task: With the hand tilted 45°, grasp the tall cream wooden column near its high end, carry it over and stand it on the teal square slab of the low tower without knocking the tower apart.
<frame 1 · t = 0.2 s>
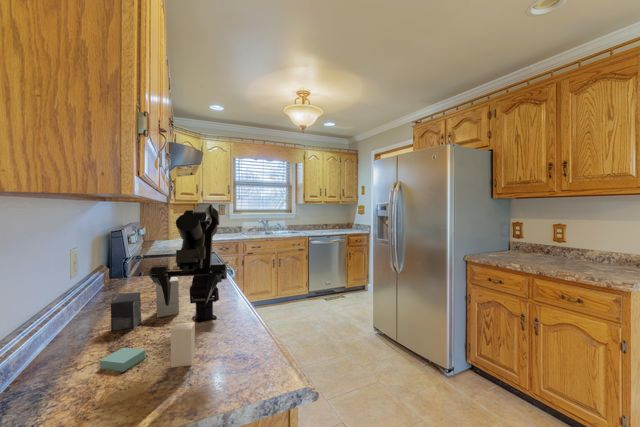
hand: (186, 304, 75), 14 cm above the countertop, tool tilted 35°, fingers open, 9 cm apart
small box: (126, 329, 95), on the countertop
cream column: (183, 367, 72), on the countertop
tower base: (123, 371, 71), on the countertop, touching teal square slab
supplement box: (167, 313, 110), on the countertop
teal square slab: (123, 363, 71), point 1 cm above the countertop, touching tower base
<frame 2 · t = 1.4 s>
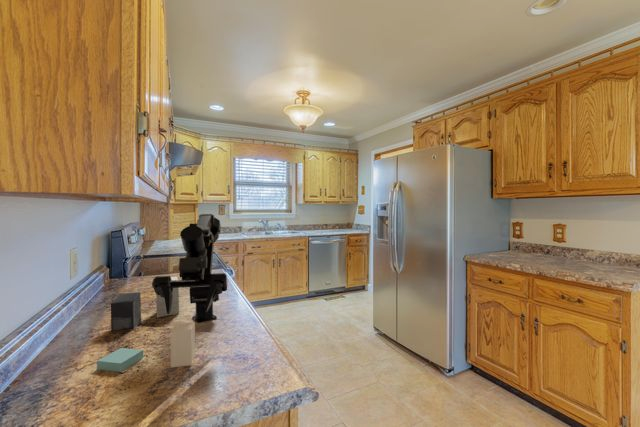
hand: (187, 312, 77), 12 cm above the countertop, tool tilted 45°, fingers open, 9 cm apart
nothing on the countertop moved.
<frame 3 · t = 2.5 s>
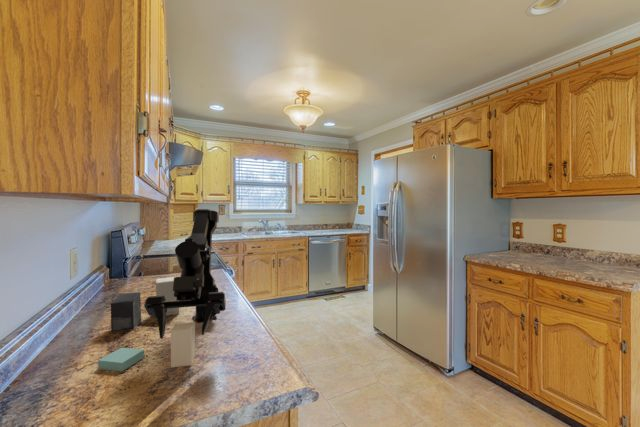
hand: (182, 336, 71), 8 cm above the countertop, tool tilted 45°, fingers open, 9 cm apart
nothing on the countertop moved.
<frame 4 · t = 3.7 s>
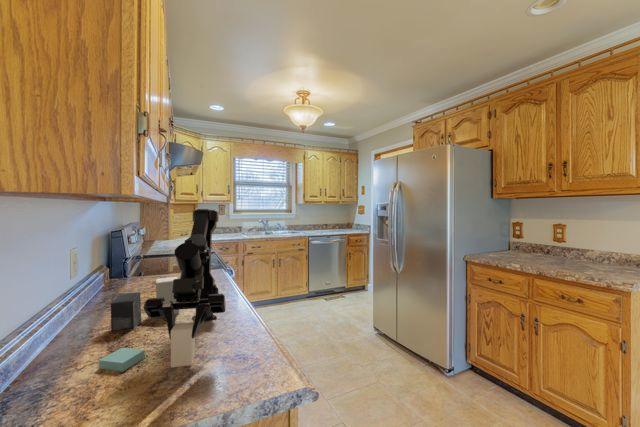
hand: (181, 338, 71), 8 cm above the countertop, tool tilted 45°, fingers closed on cream column, 4 cm apart
cream column: (183, 367, 72), on the countertop, touching gripper
everything else where it was.
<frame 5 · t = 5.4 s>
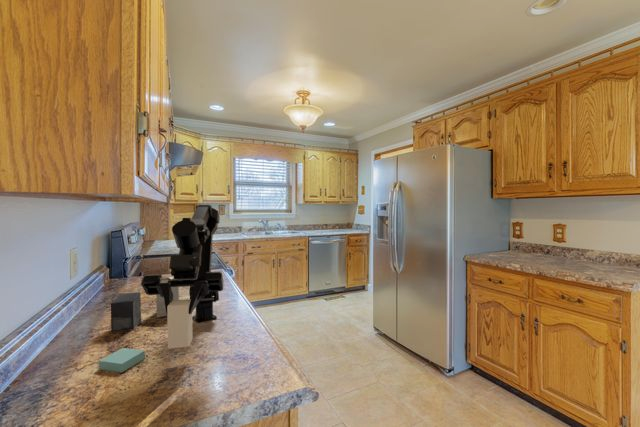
hand: (178, 314, 70), 13 cm above the countertop, tool tilted 45°, fingers closed on cream column, 4 cm apart
cream column: (180, 343, 72), point 6 cm above the countertop, touching gripper
everything else where it was.
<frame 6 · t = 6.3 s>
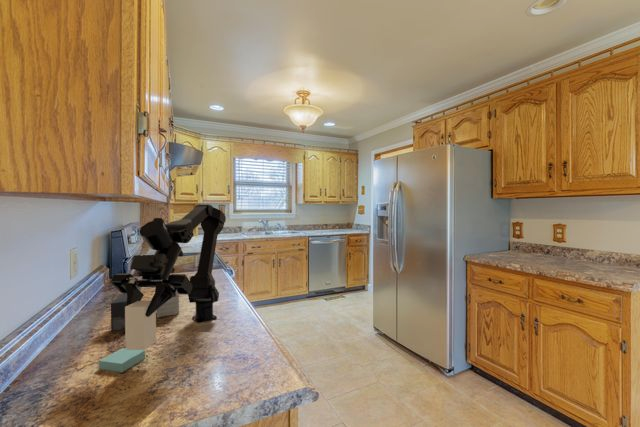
hand: (136, 315, 69), 13 cm above the countertop, tool tilted 45°, fingers closed on cream column, 4 cm apart
cream column: (141, 345, 71), point 6 cm above the countertop, touching gripper
tower base: (124, 371, 71), on the countertop
teal square slab: (122, 363, 71), point 1 cm above the countertop
everything else where it was.
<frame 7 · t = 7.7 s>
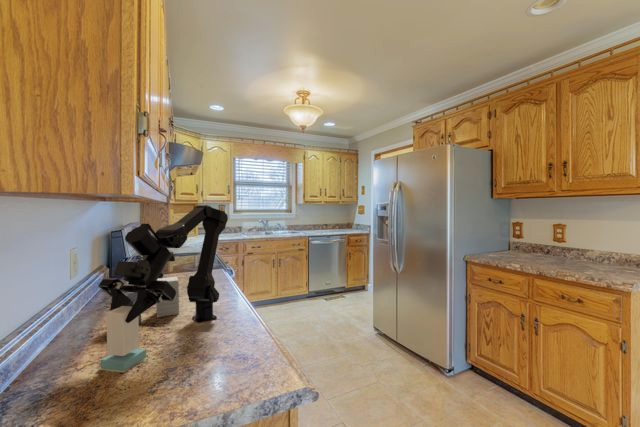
hand: (118, 321, 70), 12 cm above the countertop, tool tilted 45°, fingers closed on cream column, 4 cm apart
cream column: (123, 350, 71), point 4 cm above the countertop, touching gripper
everything else where it was.
when the fingers open (12 cm above the countertop, at t = 8.4 s): cream column stays where it is, resting on teal square slab.
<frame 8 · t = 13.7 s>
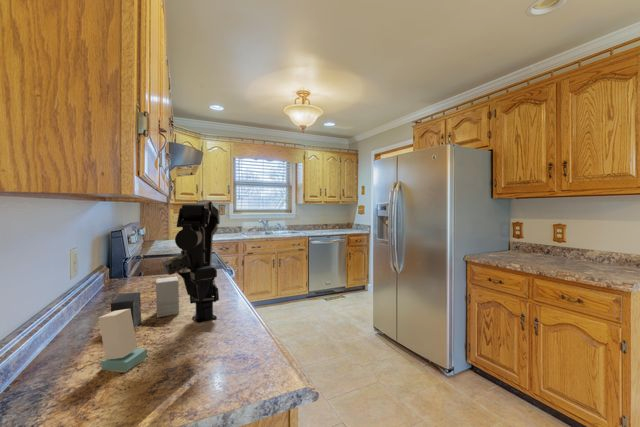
hand: (195, 297, 88), 12 cm above the countertop, tool pointing down, fingers open, 9 cm apart
cream column: (122, 354, 71), point 4 cm above the countertop, tilted 10°, touching teal square slab
teal square slab: (125, 362, 71), point 1 cm above the countertop, touching cream column
everything else where it was.
at the end: cream column inside the target area (0.5 cm from its centre), point 3.8 cm above the countertop; cream column tilted 10°; teal square slab 0.4 cm from the target spot, point 1.4 cm above the countertop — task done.
